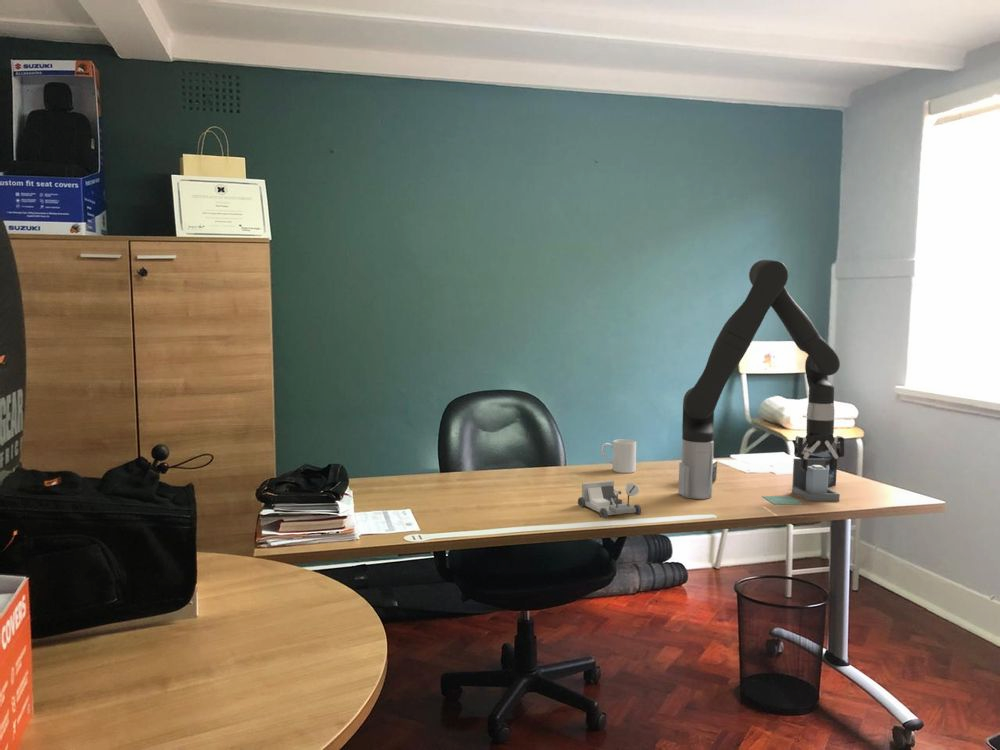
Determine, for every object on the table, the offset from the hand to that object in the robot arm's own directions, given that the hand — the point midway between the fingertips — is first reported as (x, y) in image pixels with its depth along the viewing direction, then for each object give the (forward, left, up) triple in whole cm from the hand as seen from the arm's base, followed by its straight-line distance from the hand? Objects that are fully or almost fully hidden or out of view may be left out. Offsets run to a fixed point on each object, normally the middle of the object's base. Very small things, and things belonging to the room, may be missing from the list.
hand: (818, 470), depth 223 cm
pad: (-12, -4, -9) cm, 15 cm away
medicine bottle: (-28, +21, -9) cm, 36 cm away
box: (+9, +15, -9) cm, 20 cm away
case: (0, 0, -9) cm, 9 cm away
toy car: (-66, -14, -9) cm, 68 cm away
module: (0, 0, -8) cm, 8 cm away
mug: (-53, +37, -9) cm, 66 cm away
